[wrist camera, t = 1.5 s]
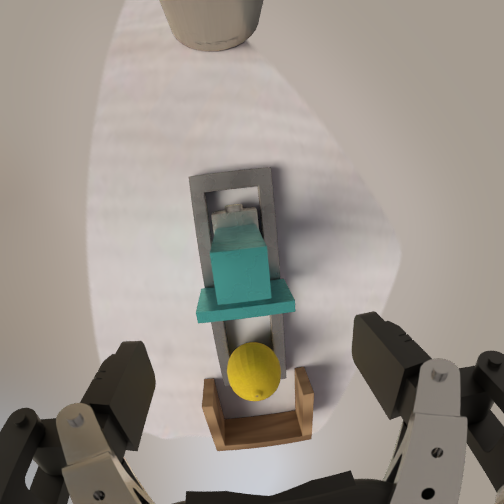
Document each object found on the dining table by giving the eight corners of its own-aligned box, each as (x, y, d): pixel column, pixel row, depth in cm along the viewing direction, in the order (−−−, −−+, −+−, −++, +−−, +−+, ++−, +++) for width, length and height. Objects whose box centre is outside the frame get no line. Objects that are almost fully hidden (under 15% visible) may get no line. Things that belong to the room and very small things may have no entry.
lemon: (261, 321, 30) (271, 365, 23) (282, 355, 32) (295, 401, 24) (218, 341, 31) (215, 388, 23) (241, 373, 32) (244, 421, 24)
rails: (190, 176, 26) (188, 176, 24) (268, 167, 26) (270, 167, 25) (224, 378, 32) (224, 386, 31) (284, 370, 32) (286, 378, 31)
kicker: (191, 209, 26) (169, 229, 17) (275, 199, 27) (301, 214, 17) (204, 292, 29) (193, 348, 19) (281, 282, 29) (306, 334, 19)
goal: (204, 379, 32) (201, 407, 27) (304, 366, 33) (313, 393, 28) (217, 424, 35) (217, 450, 30) (303, 413, 35) (311, 439, 30)
